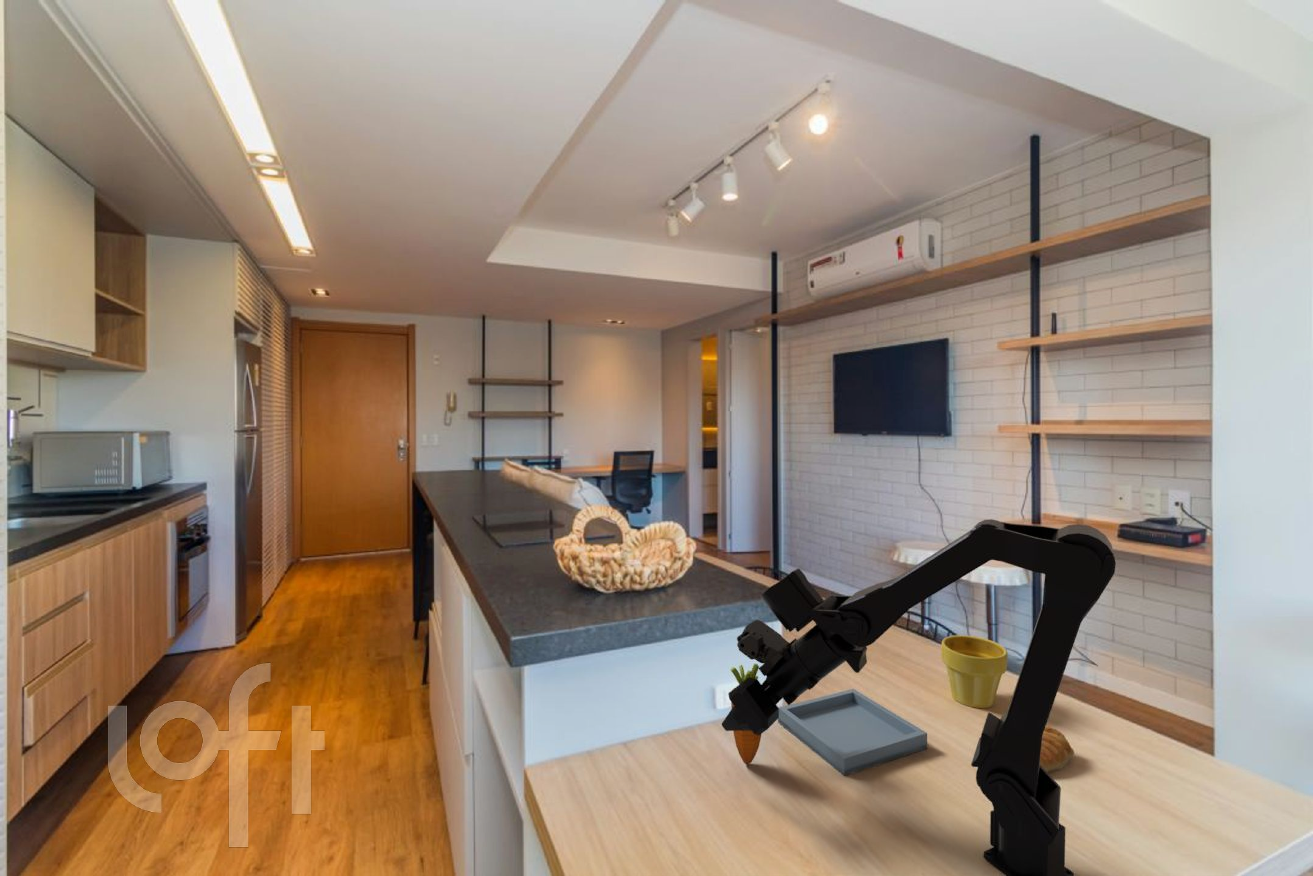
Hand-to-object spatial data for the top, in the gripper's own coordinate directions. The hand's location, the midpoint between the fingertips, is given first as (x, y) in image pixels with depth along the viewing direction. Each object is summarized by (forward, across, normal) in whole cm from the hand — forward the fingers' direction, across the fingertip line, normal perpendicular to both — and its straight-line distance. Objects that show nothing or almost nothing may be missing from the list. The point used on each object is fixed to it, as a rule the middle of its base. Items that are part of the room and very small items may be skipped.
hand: (739, 713), depth 88 cm
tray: (-3, -16, +13) cm, 21 cm away
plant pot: (-13, -40, +23) cm, 48 cm away
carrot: (+4, 0, +6) cm, 8 cm away
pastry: (-20, -26, +31) cm, 46 cm away
